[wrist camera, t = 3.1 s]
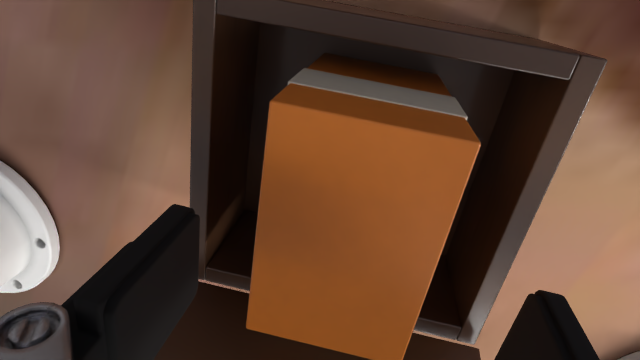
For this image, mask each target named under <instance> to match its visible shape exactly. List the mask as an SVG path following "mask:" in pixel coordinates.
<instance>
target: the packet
mask: <svg viewBox="0 0 640 360" xmlns="http://www.w3.org/2000/svg"><path fill="white" fill-rule="evenodd" d="M467 118H468V117H467V115H466V114H465V112H464V110H463V109H462V107H461V106H460V104H459V103H458V101H457V100H456V98H455V97H452V96H451V95H450V93H449V91H448V90H447V88H446V87H445V85H444V83H443V82H442V80H441V79H440V77H439V75H437V74H433V73H427V72H422V71H417V70H412V69H407V68H401V67H396V66H391V65H386V64H380V63H375V62H370V61H365V60H360V59H354V58H349V57H344V56H339V55H334V54H328V53H324V54H322V55H321V56H320V57H319V58H318V59H317V60H316V61H315V62H313V63H312V64H311V65H310V66H309V67H308V68H303V69H302V70H301V71H300V72H299V73H298V74H296V75H295V76H294V77H293V78H292V79H291V80H289V81H288V86H286V87H285V88H284V89H283V90H282V91H281V92H280V93H279V94H277V95H276V96H275V97H274V98H273V99H272V100H271V101H270V103H269V113H268V122H267V132H266V141H265V151H264V160H263V170H262V179H261V188H260V198H259V207H258V217H257V226H256V236H255V245H254V255H253V264H252V274H251V283H250V293H249V302H248V312H247V321H246V328H247V329H250V330H254V331H258V332H262V333H266V334H270V335H274V336H278V337H282V338H286V339H291V340H295V341H299V342H303V343H307V344H311V345H315V346H319V347H323V348H327V349H331V350H335V351H339V352H343V353H347V354H351V355H356V356H360V357H364V358H368V359H372V360H403V357H404V355H405V352H406V349H407V346H408V344H409V341H410V338H411V335H412V333H413V330H414V327H415V324H416V322H417V319H418V316H419V313H420V311H421V308H422V305H423V303H424V300H425V297H426V294H427V292H428V289H429V286H430V283H431V281H432V278H433V275H434V272H435V270H436V267H437V264H438V261H439V259H440V256H441V253H442V250H443V248H444V245H445V242H446V239H447V237H448V234H449V231H450V228H451V226H452V223H453V220H454V218H455V215H456V212H457V209H458V207H459V204H460V201H461V198H462V196H463V193H464V190H465V187H466V185H467V182H468V179H469V176H470V174H471V171H472V168H473V165H474V163H475V160H476V157H477V154H478V152H479V149H480V146H481V143H480V141H479V140H478V138H477V136H476V135H475V133H474V131H473V130H472V128H471V127H470V125H469V123H468V122H467Z"/></svg>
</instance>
